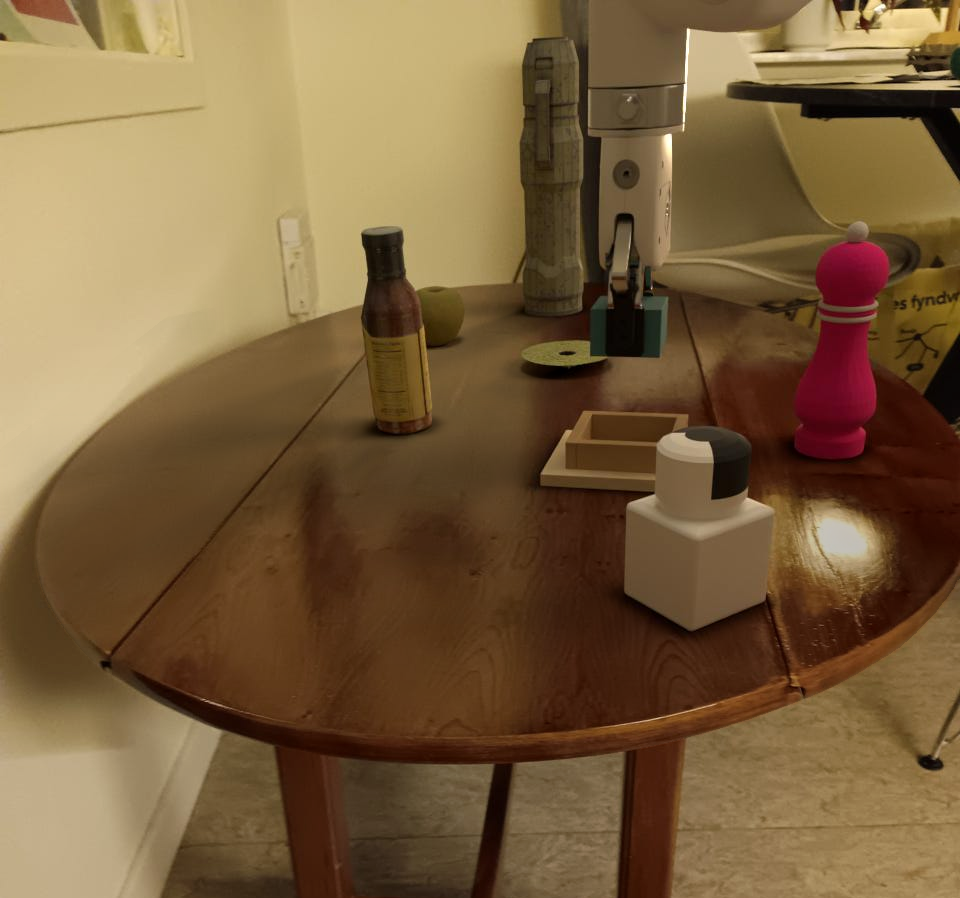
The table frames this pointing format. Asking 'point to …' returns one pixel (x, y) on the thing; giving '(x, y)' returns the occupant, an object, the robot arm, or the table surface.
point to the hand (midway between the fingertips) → (629, 344)
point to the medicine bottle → (699, 531)
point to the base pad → (610, 451)
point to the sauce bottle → (394, 337)
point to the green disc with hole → (561, 353)
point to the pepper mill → (841, 350)
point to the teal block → (653, 326)
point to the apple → (440, 314)
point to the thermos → (551, 177)
